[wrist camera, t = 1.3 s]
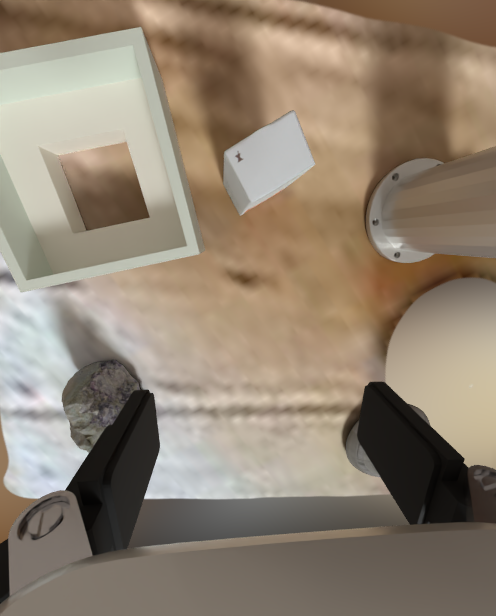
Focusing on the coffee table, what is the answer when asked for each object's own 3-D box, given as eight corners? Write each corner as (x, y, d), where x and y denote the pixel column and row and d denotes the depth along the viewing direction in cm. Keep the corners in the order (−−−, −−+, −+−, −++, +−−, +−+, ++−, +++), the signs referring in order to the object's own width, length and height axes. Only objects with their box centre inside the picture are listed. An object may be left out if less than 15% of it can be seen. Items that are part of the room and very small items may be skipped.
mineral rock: (153, 435, 39) (129, 501, 29) (80, 429, 37) (29, 497, 27) (160, 363, 35) (136, 410, 26) (80, 353, 34) (23, 399, 24)
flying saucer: (436, 434, 44) (465, 461, 39) (368, 479, 46) (387, 511, 41) (399, 381, 40) (426, 403, 35) (325, 432, 42) (340, 460, 36)
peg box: (162, 80, 26) (141, 26, 19) (205, 250, 31) (199, 254, 25) (-8, 113, 25) (-90, 70, 19) (65, 280, 31) (20, 292, 24)
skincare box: (240, 217, 31) (249, 205, 19) (222, 183, 29) (221, 150, 18) (282, 191, 30) (317, 164, 19) (266, 157, 29) (293, 105, 18)
